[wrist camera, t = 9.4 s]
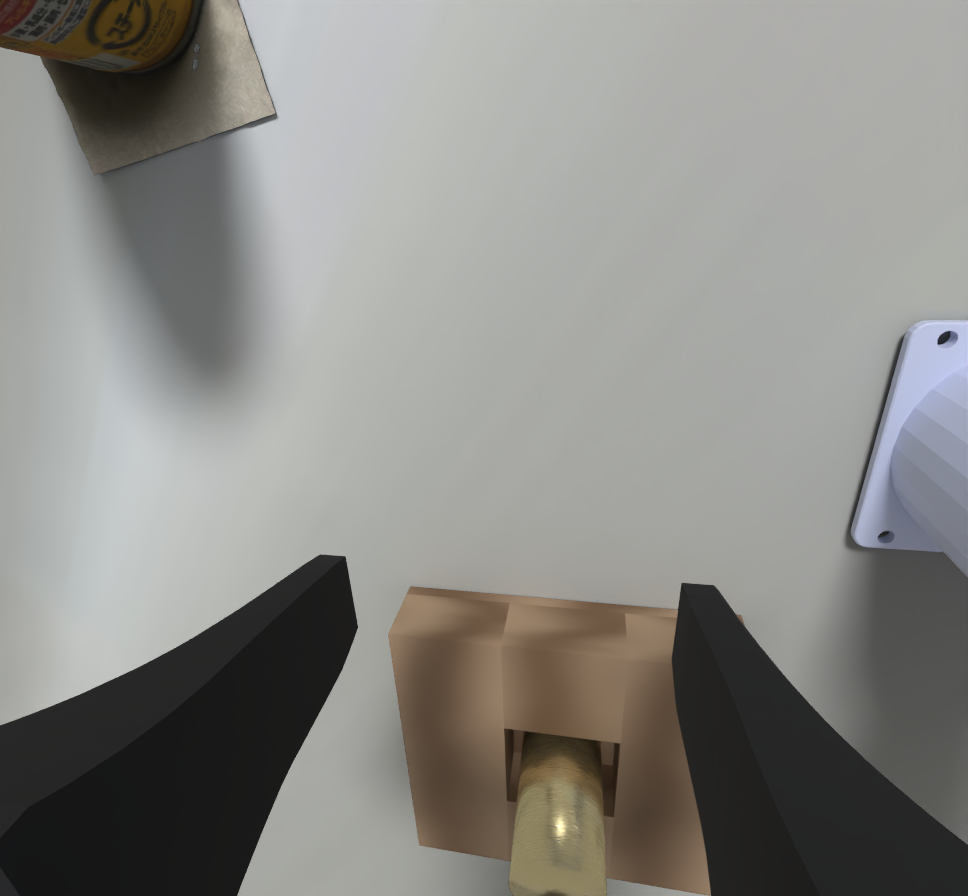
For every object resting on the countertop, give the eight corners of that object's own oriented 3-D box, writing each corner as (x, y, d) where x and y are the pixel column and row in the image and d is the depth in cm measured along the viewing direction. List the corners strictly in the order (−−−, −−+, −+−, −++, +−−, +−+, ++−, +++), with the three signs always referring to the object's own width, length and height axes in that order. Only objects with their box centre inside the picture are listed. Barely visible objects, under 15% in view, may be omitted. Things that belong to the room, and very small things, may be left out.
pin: (586, 689, 25) (588, 858, 19) (610, 741, 26) (619, 916, 20) (514, 702, 26) (494, 866, 20) (540, 751, 27) (529, 920, 21)
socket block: (740, 615, 23) (760, 672, 20) (699, 829, 29) (709, 895, 26) (410, 586, 25) (388, 634, 23) (434, 788, 31) (419, 845, 28)
